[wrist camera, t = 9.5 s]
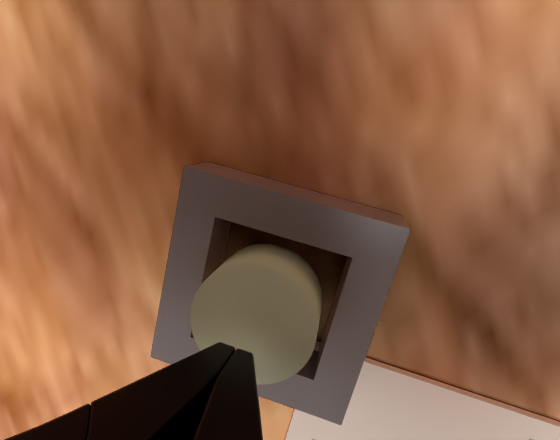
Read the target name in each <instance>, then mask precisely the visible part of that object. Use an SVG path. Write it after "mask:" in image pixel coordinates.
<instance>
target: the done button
mask: <svg viewBox="0 0 560 440" xmlns="http://www.w3.org/2000/svg"><path fill="white" fill-rule="evenodd" d="M322 303H323V297H322V290H321V285H320V282H319V280H318V278H317V276H316V274H315V272H314V271H313V269H312V268H311V266H310V265H309V264H308V263H307V262H306V261H305V260H304V259H303V258H302V257H301V256H299V255H298V254H296V253H295V252H293V251H291V250H289V249H287V248H284V247H282V246H278V245H273V244H256V245H251V246H248V247H245V248H243V249H240V250H239V251H237V252H235V253H234V254H233V255H232V256H230V257H229V258H228V259H227V260H226V261H225V262H224V263H223V264H222V265H221V266H220V267H219V268H218V269H217V270H215V271H214V272H213V273H212V274H211V275H210V276H209V277H208V278H207V279H206V280H205V281H204V282H203V283H202V285H201V286H200V287H199V289H198V290H197V292H196V294H195V296H194V298H193V302H192V305H191V311H190V323H191V330H192V334H193V337H194V339H195V342H196V344H197V346H198V348H199V350H200V351H201V350H203V349H205V348H207V347H209V346H212V345H214V344H216V343H218V342H222V343H225V344H228V345H231V346H233V347H235V350H236V349H238V348H239V349H242V350H245V351H248V352H251V353H252V354H253V356H254V365H255V374H256V383H257V385H265V384H273V383H278V382H281V381H284V380H286V379H288V378H290V377H292V376H293V375H295V374H296V373H298V372H299V371H300V370H301V369H302V368H303V367H304V366H305V364H306V363H307V362H308V360H309V359H310V357H311V355H312V353H313V350H314V347H315V343H316V338H317V333H318V327H319V322H320V316H321V311H322Z"/></svg>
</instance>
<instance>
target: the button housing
mask: <svg viewBox="0 0 560 440" xmlns="http://www.w3.org/2000/svg"><path fill="white" fill-rule="evenodd" d="M231 222H234V223H237V224H240V225H244V226H247V227H250V228H254V229H257V230H260V231H264V232H267V233H271V234H274V235H277V236H281V237H284V238H287V239H291V240H294V241H297V242H301V243H304V244H308V245H311V246H314V247H318V248H321V249H324V250H328V251H331V252H334V253H338V254H341V255H345V256H347V260H346V263H345V266H344V269H343V272H342V276H341V279H340V282H339V285H338V288H337V292H336V295H335V298H334V301H333V304H332V307H331V311H330V314H329V317H328V320H327V323H326V327H325V330H324V333H323V336H322V339H321V343H320V348H319V351H316V350H313V353H312V355H311V357H310V359H309V360H308V362H307V363H306V364H305V366H304V367H303V368H302V369H301V370H300V371H299V372H298V373H296V374H295V375H293V376H292V377H290V378H288V379H286V380H284V381H281V382H278V383H273V384H265V385H257V391H258V396H261V397H263V398H266V399H269V400H272V401H274V402H277V403H280V404H283V405H286V406H288V407H291V408H294V409H297V410H299V411H302V412H305V413H308V414H310V415H313V416H316V417H319V418H322V419H324V420H327V421H330V422H333V423H335V424H338V425H342V422H343V419H344V416H345V414H346V411H347V408H348V405H349V402H350V400H351V397H352V394H353V391H354V388H355V385H356V383H357V380H358V377H359V374H360V371H361V368H362V366H363V363H364V360H365V357H366V354H367V352H368V349H369V346H370V343H371V340H372V337H373V335H374V332H375V329H376V326H377V323H378V321H379V318H380V315H381V312H382V309H383V306H384V304H385V301H386V298H387V295H388V292H389V289H390V287H391V284H392V281H393V278H394V275H395V273H396V270H397V267H398V264H399V261H400V258H401V256H402V253H403V250H404V247H405V244H406V242H407V239H408V236H409V233H410V230H411V229H410V227H409V226H408V224H407V223H406V221H405V220H404V218H403V217H402V215H398V214H395V213H391V212H387V211H384V210H380V209H377V208H373V207H369V206H366V205H362V204H358V203H355V202H351V201H348V200H344V199H340V198H337V197H333V196H330V195H326V194H322V193H319V192H315V191H311V190H308V189H304V188H301V187H297V186H293V185H290V184H286V183H283V182H279V181H275V180H272V179H268V178H265V177H261V176H257V175H254V174H250V173H246V172H243V171H239V170H236V169H232V168H228V167H225V166H221V165H218V164H214V163H210V162H206V163H199V164H192V165H186V166H184V168H183V174H182V180H181V186H180V191H179V197H178V203H177V208H176V214H175V220H174V226H173V231H172V237H171V243H170V248H169V254H168V260H167V265H166V271H165V277H164V283H163V288H162V294H161V300H160V305H159V311H158V317H157V322H156V328H155V334H154V340H153V345H152V351H151V357H152V358H155V359H158V360H161V361H163V362H166V363H169V364H173V363H175V362H178V361H180V360H182V359H184V358H186V357H188V356H190V355H192V354H195V353H197V352H199V351H200V350H199V348H198V346H197V344H196V342H195V339H194V337H193V334H192V330H191V323H190V311H191V305H192V302H193V298H194V296H195V294H196V292H197V290H198V289H199V287H200V286H201V285H202V283H203V282H204V281H205V280H206V279H207V278H208V277H209V276H210V275H211V274H212V273H213V272H214V271H215V270H217V269H218V268H219V267H220V266H221V265H222V263H223V258H224V254H225V249H226V245H227V240H228V235H229V231H230V226H231Z"/></svg>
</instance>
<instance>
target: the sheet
mask: <svg viewBox="0 0 560 440" xmlns="http://www.w3.org/2000/svg"><path fill="white" fill-rule="evenodd" d="M320 343H321V342H318V341H316V343H315V347H314V350H316V351H319V348H320ZM285 440H560V422H559V421H556V420H553V419H550V418H547V417H544V416H541V415H538V414H535V413H532V412H529V411H526V410H523V409H520V408H517V407H514V406H511V405H508V404H505V403H502V402H499V401H495V400H492V399H489V398H486V397H483V396H480V395H477V394H474V393H471V392H468V391H465V390H462V389H459V388H456V387H453V386H450V385H447V384H444V383H441V382H438V381H435V380H432V379H429V378H426V377H423V376H420V375H417V374H414V373H411V372H408V371H405V370H402V369H399V368H396V367H393V366H390V365H387V364H384V363H381V362H378V361H375V360H372V359H369V358H366V357H365V360H364V363H363V366H362V368H361V371H360V374H359V377H358V380H357V383H356V385H355V388H354V391H353V394H352V397H351V400H350V402H349V405H348V408H347V411H346V414H345V416H344V419H343V422H342V425H338V424H335V423H333V422H330V421H327V420H324V419H322V418H319V417H316V416H313V415H310V414H308V413H305V412H302V411H299V410H297V409H294V412H293V415H292V418H291V422H290V425H289V428H288V431H287V435H286V438H285Z"/></svg>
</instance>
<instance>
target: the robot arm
mask: <svg viewBox="0 0 560 440" xmlns="http://www.w3.org/2000/svg"><path fill="white" fill-rule="evenodd" d="M5 440H263V436H262V427H261V418H260V409H259V400H258V391H257V383H256V374H255V365H254V356H253V354H252V353H251V352H248V351H245V350H242V349H239V348H238V349H236V350H235V347H233V346H231V345H228V344H225V343H222V342H218V343H216V344H214V345H212V346H209V347H207V348H205V349H203V350H201V351H199V352H197V353H195V354H192V355H190V356H188V357H186V358H184V359H182V360H180V361H178V362H175V363H173V364H171V365H169V366H167V367H165V368H163V369H161V370H158V371H156V372H154V373H152V374H150V375H148V376H146V377H144V378H142V379H139V380H137V381H135V382H133V383H131V384H129V385H127V386H125V387H122V388H120V389H118V390H116V391H114V392H112V393H110V394H108V395H105V396H103V397H101V398H99V399H97V400H95V401H93V402H91V405H90V404H86V405H84V406H82V407H80V408H77V409H75V410H73V411H71V412H69V413H67V414H64V415H62V416H60V417H58V418H55V419H53V420H51V421H49V422H46V423H44V424H42V425H40V426H37V427H35V428H32V429H30V430H27V431H25V432H22V433H20V434H17V435H15V436H12V437H10V438H7V439H5Z"/></svg>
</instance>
